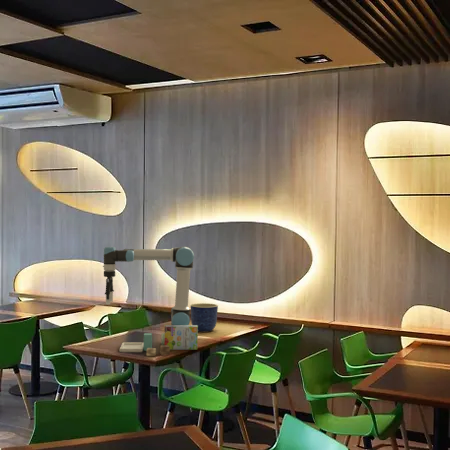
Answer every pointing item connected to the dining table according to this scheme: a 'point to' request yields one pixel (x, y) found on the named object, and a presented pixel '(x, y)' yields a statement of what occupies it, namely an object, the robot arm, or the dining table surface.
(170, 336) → the snack box
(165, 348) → the walnut cube
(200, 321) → the planter
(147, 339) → the teal block
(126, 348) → the tray
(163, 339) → the grey-brown upright piece
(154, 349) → the beech block
